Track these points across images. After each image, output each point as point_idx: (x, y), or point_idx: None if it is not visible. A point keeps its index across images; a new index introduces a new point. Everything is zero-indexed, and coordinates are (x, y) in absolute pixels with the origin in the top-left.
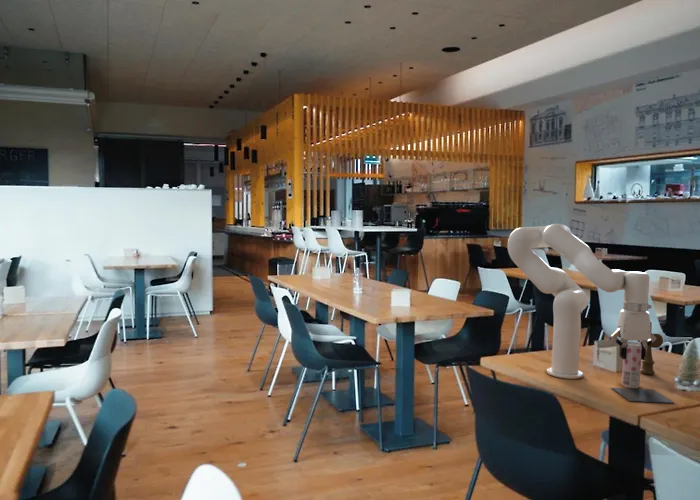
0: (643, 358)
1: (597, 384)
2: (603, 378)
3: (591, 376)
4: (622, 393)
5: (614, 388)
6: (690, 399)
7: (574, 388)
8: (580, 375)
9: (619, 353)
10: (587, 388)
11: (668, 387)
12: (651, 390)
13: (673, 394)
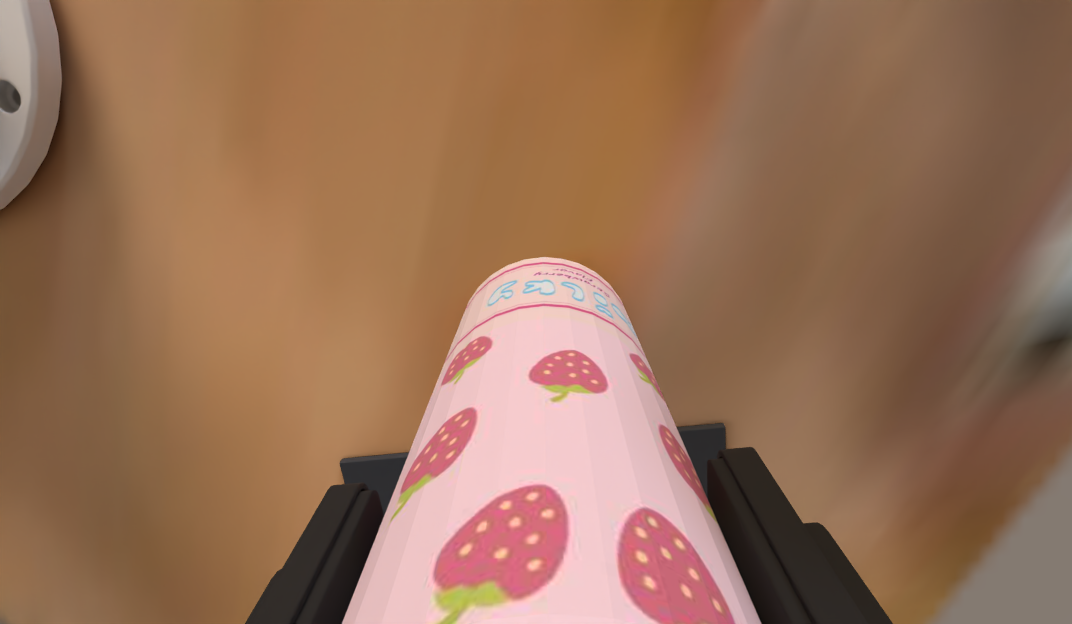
0: None
1: (224, 352)
2: (315, 79)
3: (177, 17)
4: None
5: (359, 479)
6: (926, 591)
7: (20, 523)
8: (16, 167)
9: (268, 591)
10: (128, 498)
11: (948, 279)
12: (692, 462)
13: (857, 496)
